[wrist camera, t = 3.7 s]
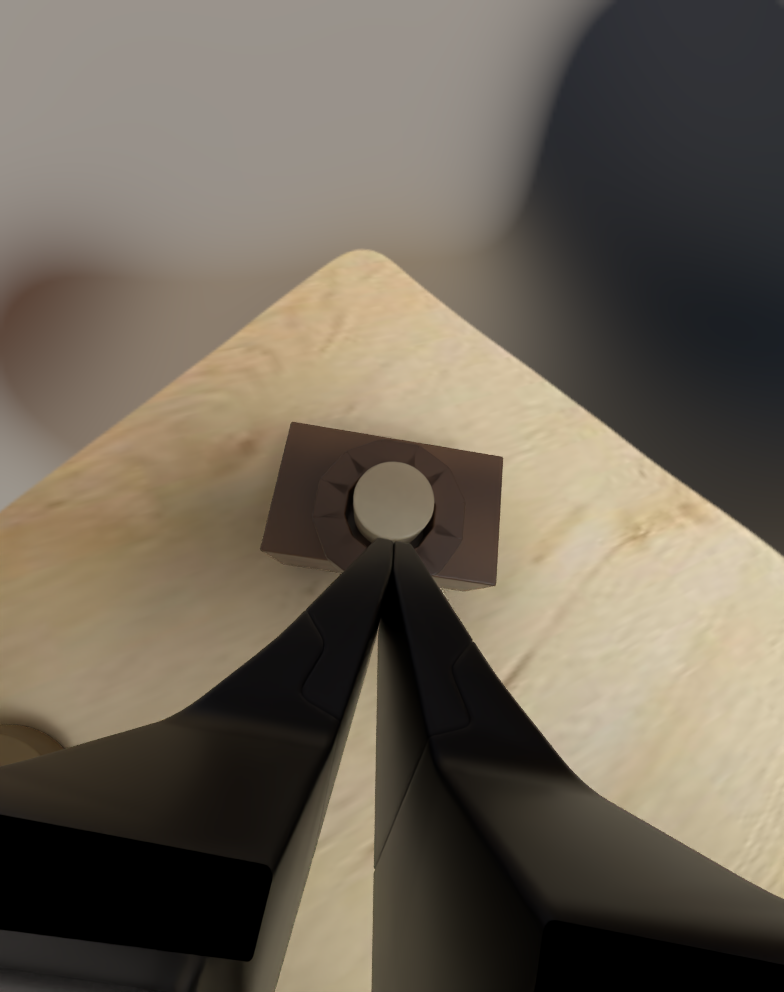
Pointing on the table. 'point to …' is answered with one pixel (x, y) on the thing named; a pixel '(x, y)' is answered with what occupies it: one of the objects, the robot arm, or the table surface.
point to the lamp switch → (392, 502)
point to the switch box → (330, 515)
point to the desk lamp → (24, 744)
